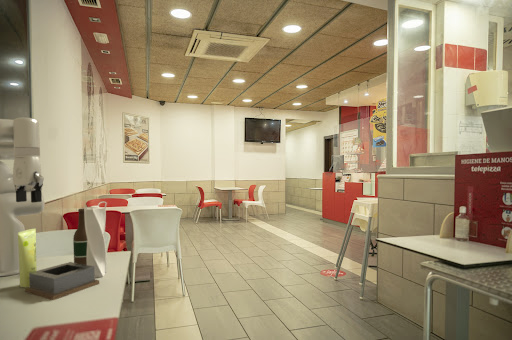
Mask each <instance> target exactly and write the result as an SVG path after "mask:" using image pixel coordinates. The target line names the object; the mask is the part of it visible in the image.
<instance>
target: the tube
mask: <svg viewBox="0 0 512 340" xmlns="http://www.w3.org/2000/svg"><path fill="white" fill-rule="evenodd" d="M36 230H37V229H36V227H35V228H31V229H26V230H25V231H22V232H18V248H19V271H20V273H19V287H21V288H28V287H30V280H29V273H31V272H35V271H38V270H37V242H36V241H37V235H36V233H37V232H36Z"/></svg>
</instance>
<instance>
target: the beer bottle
mask: <svg viewBox="0 0 512 340" xmlns="http://www.w3.org/2000/svg"><path fill="white" fill-rule="evenodd" d="M84 208H85V207H84ZM84 208H83V207H82V208H78V210H77V212H78V223H77V229H76V230H75V232H74V235H73V238H72V239H73V241H72V242H73V243H72V244H73V263H78V264H83V265H87V235H86V229H85V217H84ZM86 209H88V208H86Z"/></svg>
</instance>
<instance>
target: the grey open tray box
mask: <svg viewBox="0 0 512 340" xmlns="http://www.w3.org/2000/svg"><path fill="white" fill-rule="evenodd" d="M29 280H30V287H24V292H25V293H28V294H31V295H34V296H37V297H40V298H44V299H48V300H51V301H54V300H55V301H56V300H58V299H60V298H63V297H66V296H69V295H72V294H74V293H78V292H81V291H83V290H85V289H88V288H91V287H96V286H98V285H100V280H99V279H96V278H95V269H94V266H89V265H83V264H78V263H74V261H72V262H71V261H68V262H65V263H61V264H58V265H53V266H50V267H46V268H43V269H38V270H37V271H35V272H31V273H29Z"/></svg>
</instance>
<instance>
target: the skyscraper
mask: <svg viewBox="0 0 512 340" xmlns="http://www.w3.org/2000/svg"><path fill="white" fill-rule="evenodd" d="M102 203H105V205H104V207H100V204H102ZM107 205H108V202H106V200H105V201H104V200H103V201H100V202H99V203H98V204H97V205H92V206H85V207H84V217H85V229H86V235H87V265H89V266H94V269H95V279H96V278H103V277H104V276H105V274H106V273H107V252H106V251H107V250H106V249H107V248H106V241H105V237H104V236H105V231H106V222H107V221H106V219H107V215H106V214H107V213H106V212H107ZM86 208H87V209H86Z"/></svg>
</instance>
